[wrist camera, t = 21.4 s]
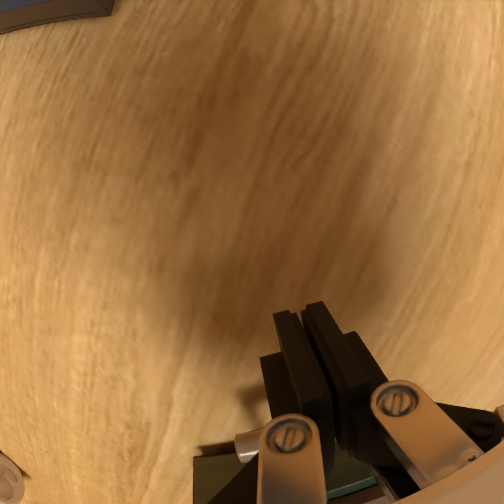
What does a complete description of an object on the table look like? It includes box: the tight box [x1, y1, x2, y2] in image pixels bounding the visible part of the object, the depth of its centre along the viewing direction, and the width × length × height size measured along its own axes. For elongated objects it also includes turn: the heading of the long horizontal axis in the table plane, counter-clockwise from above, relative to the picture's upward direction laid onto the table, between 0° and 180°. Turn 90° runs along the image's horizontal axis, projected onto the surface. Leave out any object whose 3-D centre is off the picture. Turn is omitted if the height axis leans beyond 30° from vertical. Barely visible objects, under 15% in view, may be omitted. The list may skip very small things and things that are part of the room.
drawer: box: [195, 429, 378, 504], centre depth 15 cm, size 20×14×4 cm
